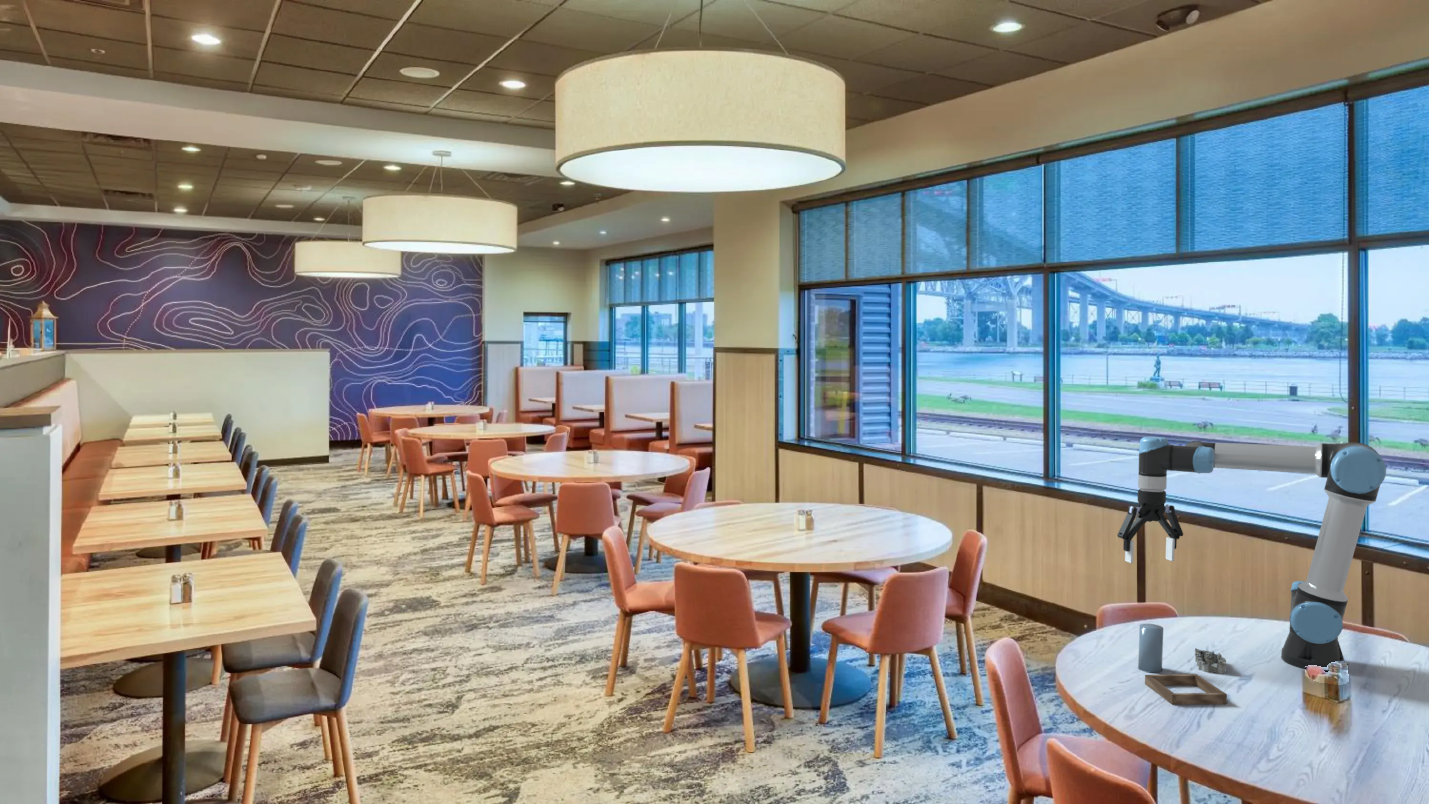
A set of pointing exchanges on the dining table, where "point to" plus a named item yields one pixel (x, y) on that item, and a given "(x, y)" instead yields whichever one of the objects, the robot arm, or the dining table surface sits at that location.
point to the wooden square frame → (1210, 697)
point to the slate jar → (1150, 648)
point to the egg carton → (1210, 661)
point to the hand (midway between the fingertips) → (1149, 561)
